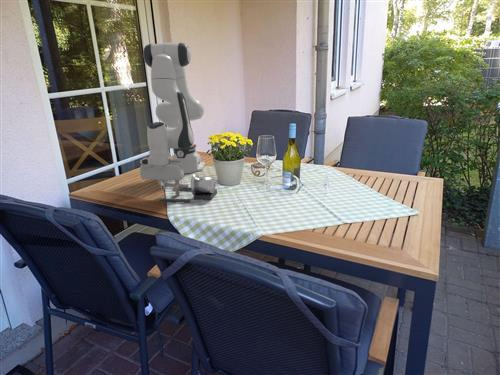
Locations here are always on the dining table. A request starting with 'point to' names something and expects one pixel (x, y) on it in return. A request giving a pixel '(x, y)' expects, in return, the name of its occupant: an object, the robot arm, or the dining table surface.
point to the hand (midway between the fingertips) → (163, 188)
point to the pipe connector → (177, 186)
